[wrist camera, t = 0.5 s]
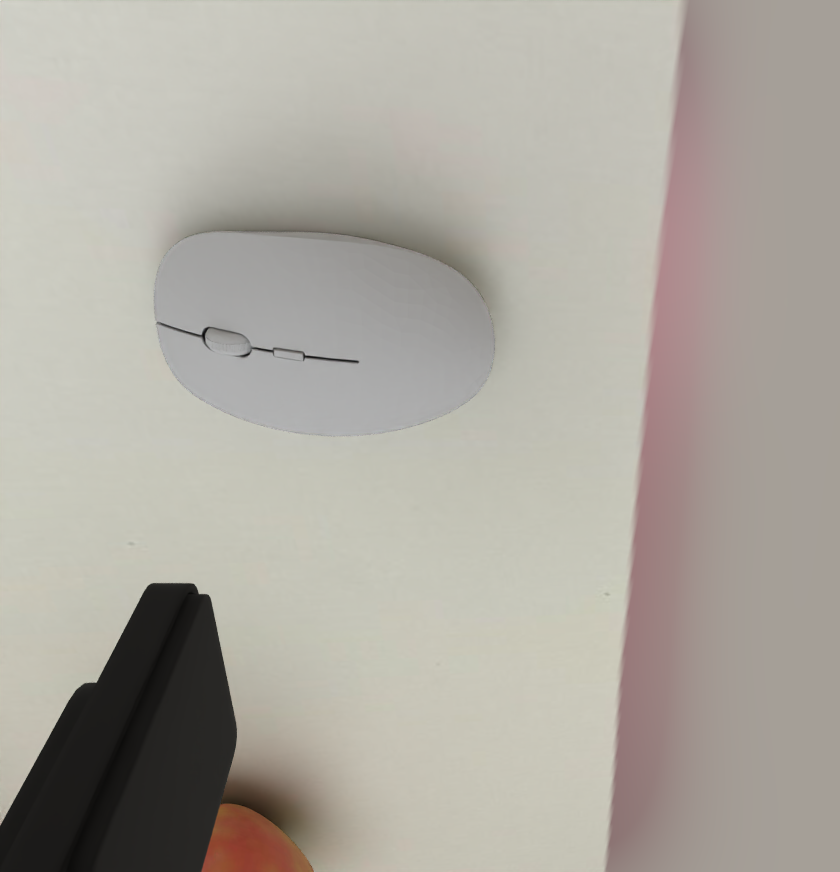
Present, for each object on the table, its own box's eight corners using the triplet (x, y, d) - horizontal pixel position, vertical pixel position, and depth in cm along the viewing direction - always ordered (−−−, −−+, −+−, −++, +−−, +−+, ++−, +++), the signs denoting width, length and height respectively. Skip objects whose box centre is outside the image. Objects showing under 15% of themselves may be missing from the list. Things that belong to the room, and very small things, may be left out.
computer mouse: (154, 211, 20) (113, 238, 18) (500, 232, 20) (509, 262, 18) (177, 397, 23) (145, 443, 21) (480, 414, 23) (485, 463, 21)
